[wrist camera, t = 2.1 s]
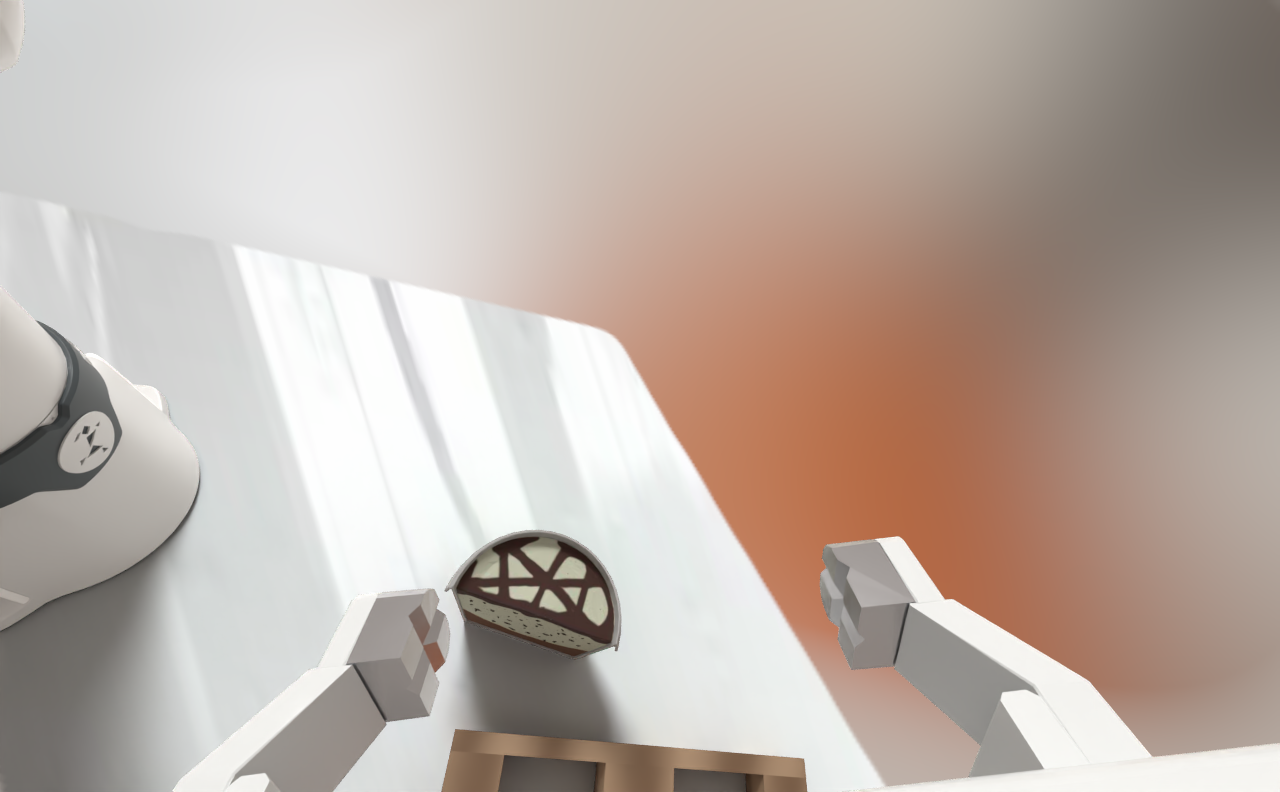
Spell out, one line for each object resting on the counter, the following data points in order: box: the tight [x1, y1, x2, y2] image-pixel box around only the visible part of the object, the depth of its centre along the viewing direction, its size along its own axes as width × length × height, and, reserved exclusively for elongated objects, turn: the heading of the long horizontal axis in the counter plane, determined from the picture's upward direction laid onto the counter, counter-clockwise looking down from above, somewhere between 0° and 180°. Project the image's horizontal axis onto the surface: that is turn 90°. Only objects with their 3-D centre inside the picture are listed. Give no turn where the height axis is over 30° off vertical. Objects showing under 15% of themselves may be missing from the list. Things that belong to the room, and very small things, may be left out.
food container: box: [445, 530, 621, 660], centre depth 40 cm, size 12×6×10 cm, turn 75°
